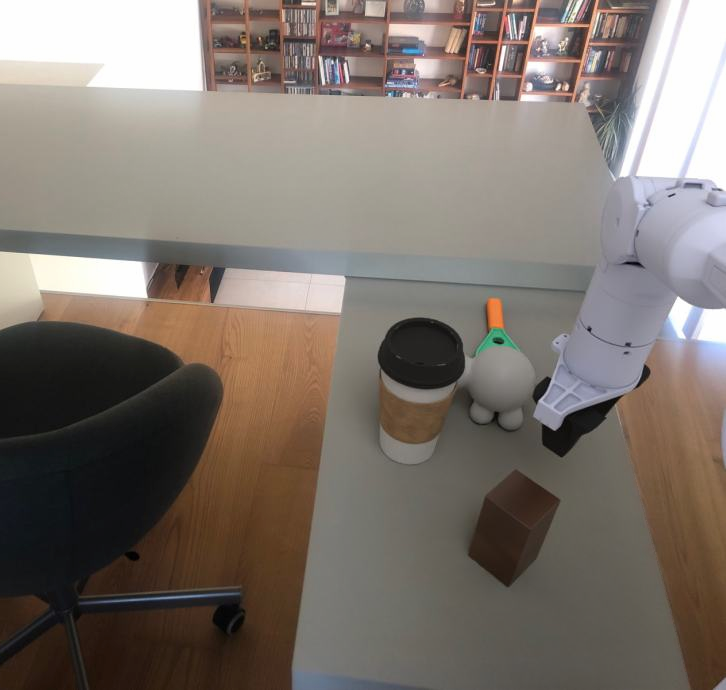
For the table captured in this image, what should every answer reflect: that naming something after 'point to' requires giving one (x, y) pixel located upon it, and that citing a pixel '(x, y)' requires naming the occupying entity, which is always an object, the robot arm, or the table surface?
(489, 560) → the brown wooden block
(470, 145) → the table surface
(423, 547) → the table surface
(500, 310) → the vegetable peeler
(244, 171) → the table surface
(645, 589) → the table surface
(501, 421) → the toy rhinoceros
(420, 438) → the coffee cup
